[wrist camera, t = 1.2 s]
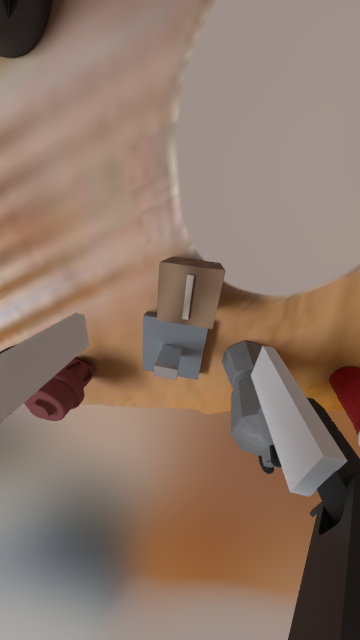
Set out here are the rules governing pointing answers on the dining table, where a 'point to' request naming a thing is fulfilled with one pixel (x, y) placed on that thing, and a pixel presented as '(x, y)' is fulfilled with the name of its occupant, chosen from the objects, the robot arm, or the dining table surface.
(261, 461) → the coffeepot
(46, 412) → the mechanical component
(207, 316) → the cardboard box
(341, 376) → the plastic cup
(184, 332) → the shaft stand
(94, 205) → the dining table surface
